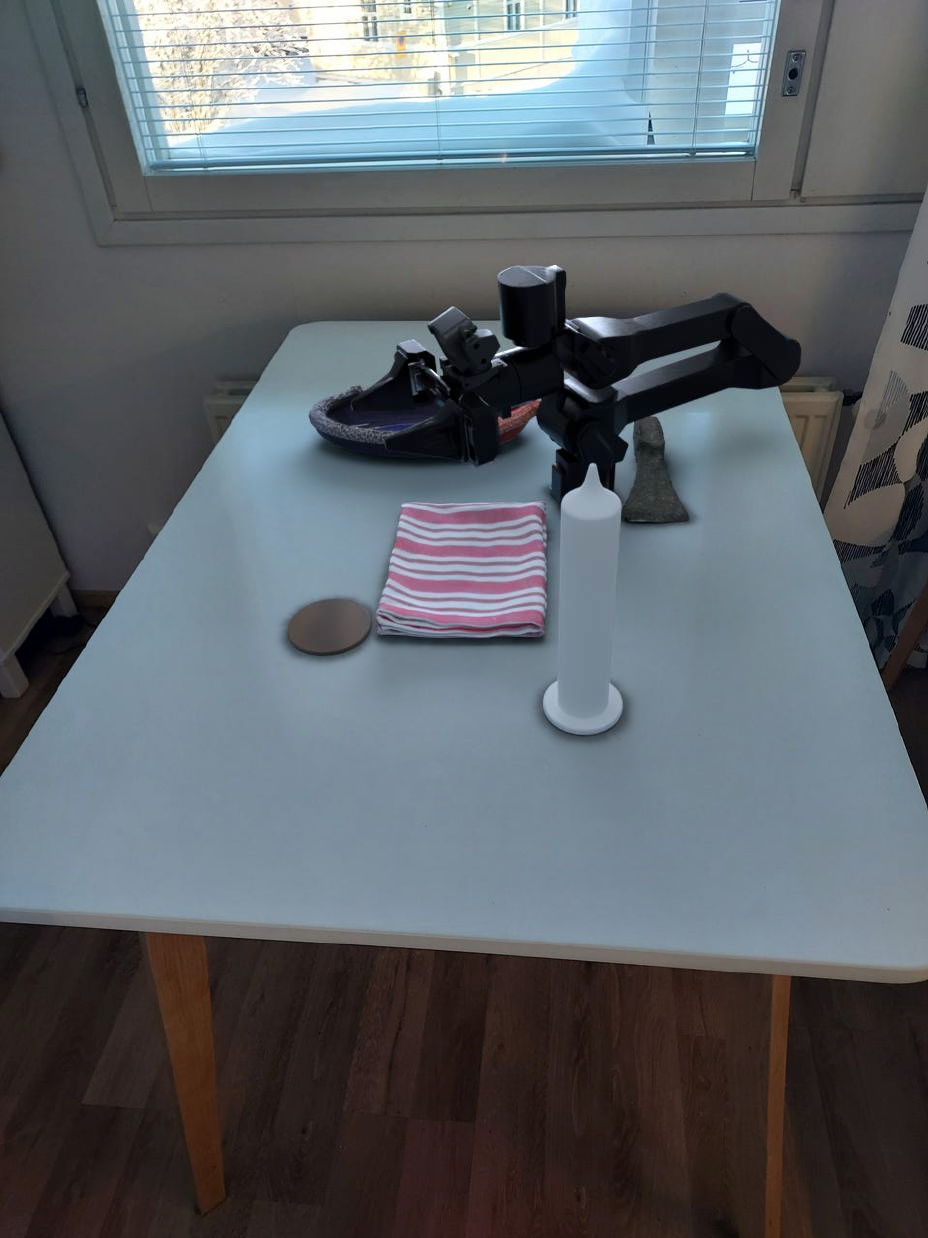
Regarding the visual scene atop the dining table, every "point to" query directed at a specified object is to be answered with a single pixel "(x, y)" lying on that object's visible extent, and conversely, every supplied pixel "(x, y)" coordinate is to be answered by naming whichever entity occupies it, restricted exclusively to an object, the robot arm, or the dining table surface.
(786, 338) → the robot arm
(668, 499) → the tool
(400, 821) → the dining table surface
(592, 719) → the candle
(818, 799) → the dining table surface
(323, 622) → the coaster
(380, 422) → the dish
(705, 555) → the dining table surface
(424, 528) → the dish towel
